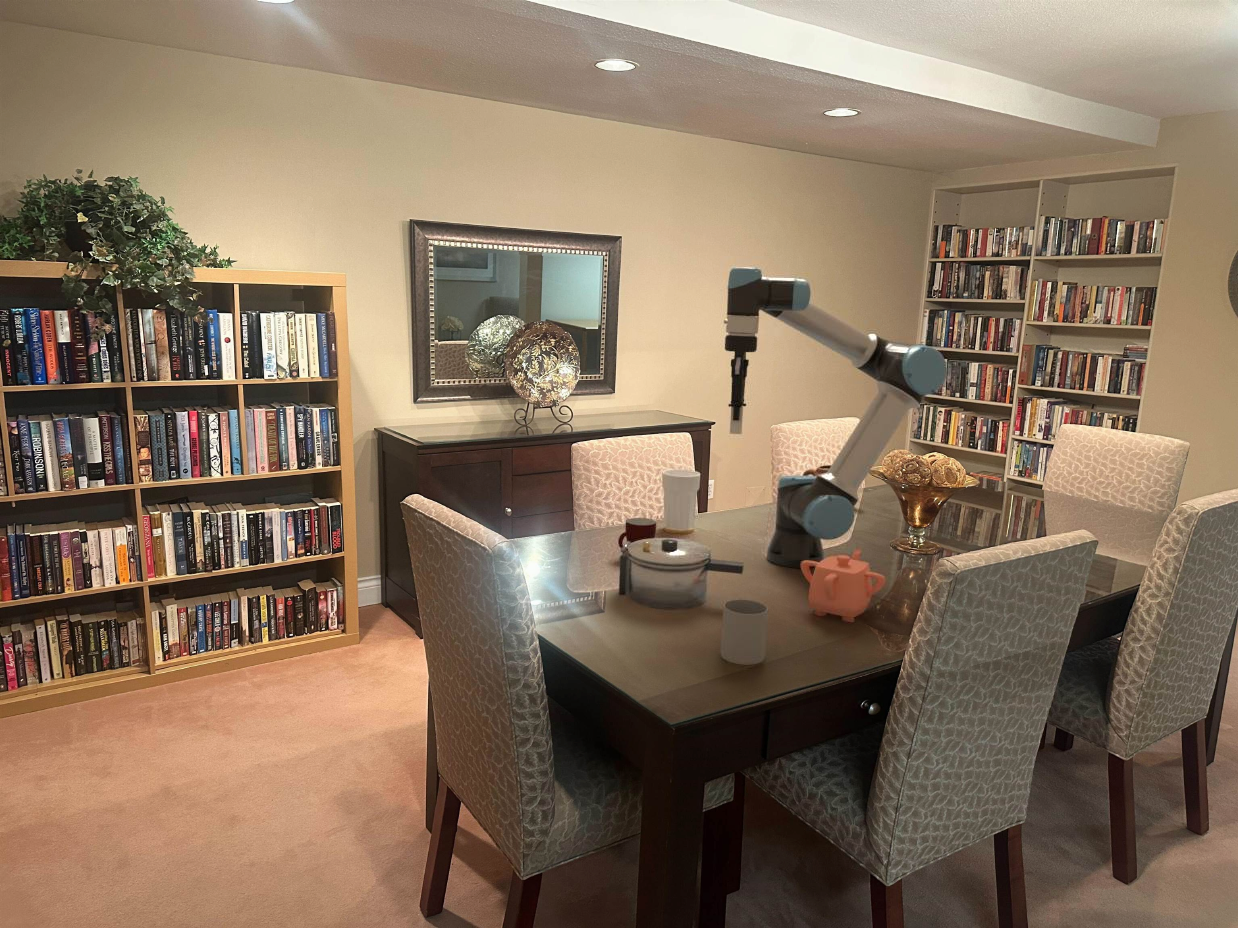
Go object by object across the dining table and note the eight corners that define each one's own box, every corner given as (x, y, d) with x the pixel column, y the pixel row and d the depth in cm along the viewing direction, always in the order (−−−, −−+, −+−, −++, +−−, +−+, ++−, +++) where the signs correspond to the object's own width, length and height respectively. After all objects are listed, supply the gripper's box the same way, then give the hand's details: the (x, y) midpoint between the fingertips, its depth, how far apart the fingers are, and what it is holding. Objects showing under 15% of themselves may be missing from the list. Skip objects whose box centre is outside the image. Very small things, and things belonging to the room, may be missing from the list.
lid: (715, 546, 208) (715, 534, 207) (704, 569, 190) (705, 555, 189) (631, 538, 212) (632, 526, 212) (613, 560, 194) (614, 546, 193)
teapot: (824, 627, 186) (829, 568, 184) (790, 602, 201) (794, 547, 199) (893, 622, 191) (898, 564, 188) (855, 598, 206) (860, 544, 203)
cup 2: (717, 647, 173) (720, 599, 172) (758, 647, 174) (761, 599, 172) (726, 664, 165) (729, 614, 163) (768, 664, 166) (772, 614, 164)
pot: (744, 590, 208) (746, 550, 206) (736, 618, 190) (739, 573, 188) (629, 578, 214) (631, 539, 212) (611, 604, 196) (613, 561, 194)
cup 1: (704, 529, 264) (707, 472, 261) (686, 536, 255) (689, 478, 252) (671, 522, 270) (673, 467, 267) (652, 530, 261) (655, 473, 258)
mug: (629, 565, 225) (631, 528, 223) (610, 557, 231) (612, 521, 229) (661, 559, 231) (662, 522, 230) (641, 552, 238) (643, 516, 236)
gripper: (728, 333, 213) (722, 429, 218) (722, 334, 201) (717, 436, 205) (759, 334, 212) (753, 431, 216) (755, 336, 199) (749, 438, 204)
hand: (735, 433), depth 211 cm, fingers closed
